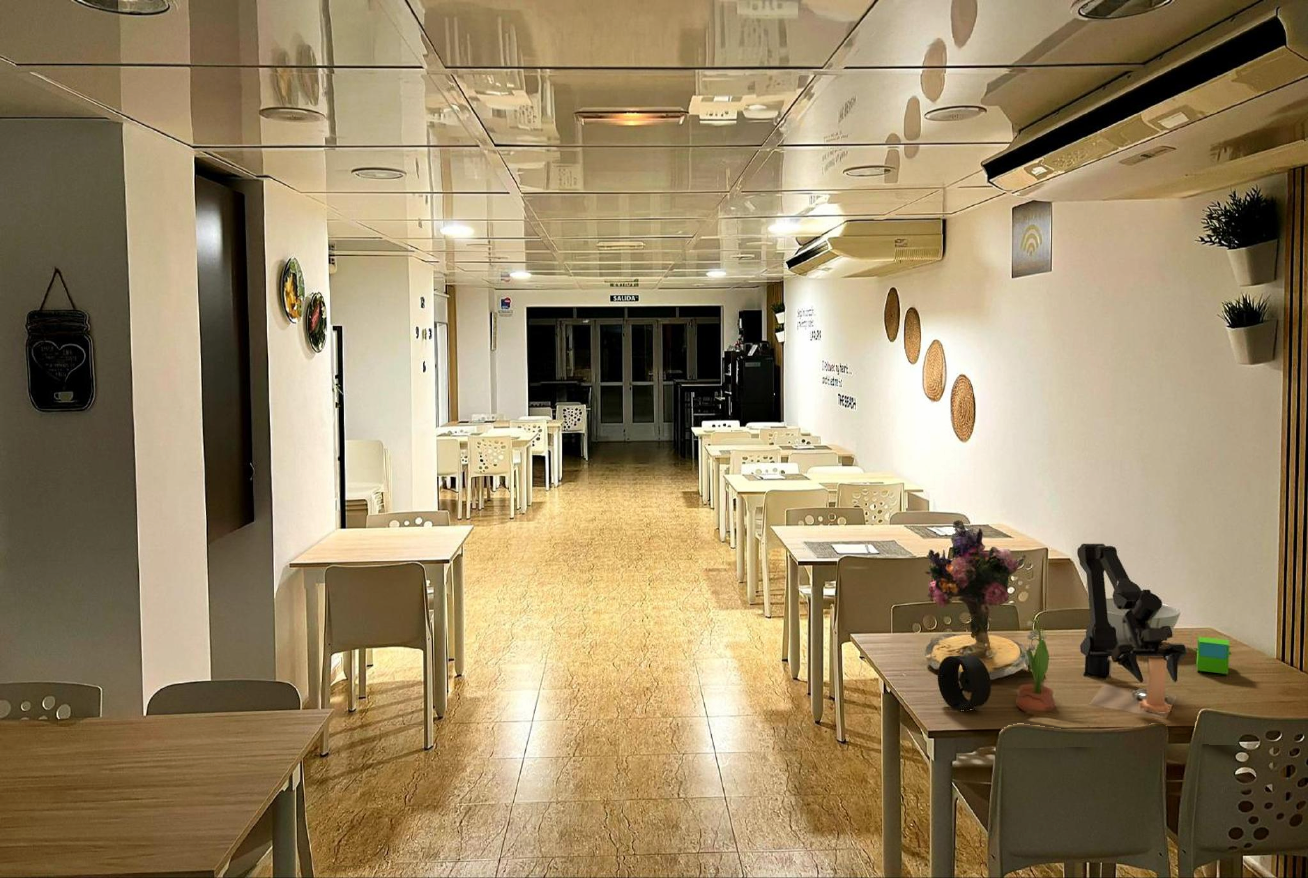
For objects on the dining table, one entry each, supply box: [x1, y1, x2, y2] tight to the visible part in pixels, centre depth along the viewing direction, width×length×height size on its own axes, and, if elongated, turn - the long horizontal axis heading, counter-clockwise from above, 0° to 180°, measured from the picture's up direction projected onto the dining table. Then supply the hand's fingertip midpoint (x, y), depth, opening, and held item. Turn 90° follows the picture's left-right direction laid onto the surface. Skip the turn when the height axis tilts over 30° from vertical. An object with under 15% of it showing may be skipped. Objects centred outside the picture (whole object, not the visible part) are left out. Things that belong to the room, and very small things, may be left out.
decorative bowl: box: [1106, 597, 1181, 647], centre depth 357 cm, size 27×27×12 cm
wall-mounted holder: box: [937, 655, 992, 712], centre depth 292 cm, size 14×14×10 cm
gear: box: [1132, 688, 1168, 702], centre depth 297 cm, size 9×9×2 cm
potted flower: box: [1015, 617, 1056, 712], centre depth 291 cm, size 12×10×25 cm
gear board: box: [1088, 684, 1178, 719], centre depth 295 cm, size 19×21×2 cm
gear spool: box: [1139, 657, 1172, 713], centre depth 288 cm, size 8×8×13 cm
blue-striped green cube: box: [1193, 636, 1232, 676], centre depth 329 cm, size 10×13×10 cm
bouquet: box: [924, 519, 1031, 680], centre depth 326 cm, size 33×44×45 cm
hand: (1158, 681), depth 286 cm, fingers open, 9 cm apart
